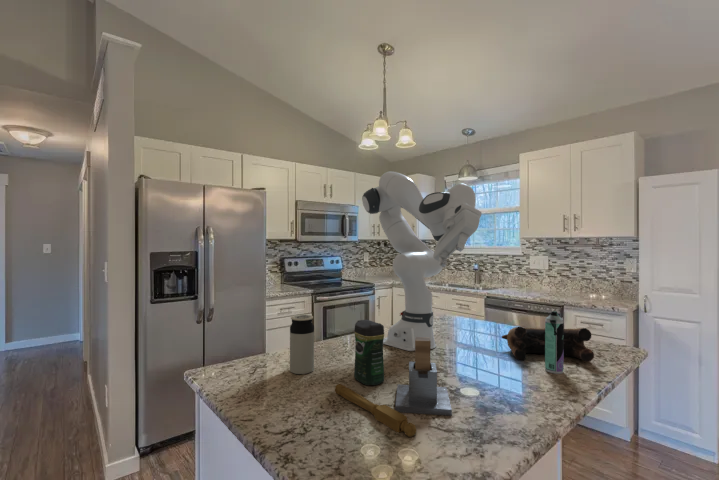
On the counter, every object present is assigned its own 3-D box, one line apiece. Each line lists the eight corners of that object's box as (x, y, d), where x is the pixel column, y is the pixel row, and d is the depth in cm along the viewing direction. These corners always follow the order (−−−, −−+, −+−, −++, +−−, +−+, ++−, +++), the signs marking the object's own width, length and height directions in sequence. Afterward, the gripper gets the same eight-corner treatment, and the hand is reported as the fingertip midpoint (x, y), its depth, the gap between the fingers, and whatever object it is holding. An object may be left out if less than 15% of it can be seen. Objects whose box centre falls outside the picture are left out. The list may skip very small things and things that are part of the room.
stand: (397, 389, 107) (397, 357, 107) (446, 392, 105) (446, 359, 105) (395, 411, 93) (395, 374, 93) (451, 415, 91) (451, 377, 91)
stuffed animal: (599, 323, 129) (571, 317, 153) (507, 327, 134) (494, 321, 158) (605, 361, 127) (576, 349, 152) (511, 363, 132) (498, 351, 157)
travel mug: (318, 368, 124) (318, 315, 124) (305, 376, 117) (305, 320, 117) (298, 365, 127) (298, 313, 127) (284, 372, 120) (285, 317, 120)
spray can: (565, 374, 119) (566, 313, 119) (547, 373, 120) (548, 312, 120) (560, 368, 124) (560, 310, 124) (542, 367, 126) (543, 309, 126)
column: (414, 391, 101) (414, 336, 101) (429, 392, 101) (429, 337, 101) (414, 397, 97) (415, 340, 97) (430, 398, 97) (430, 341, 96)
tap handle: (342, 381, 106) (419, 423, 82) (342, 392, 106) (419, 436, 82) (334, 384, 104) (409, 427, 80) (334, 395, 104) (409, 441, 80)
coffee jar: (388, 383, 112) (388, 322, 112) (366, 388, 107) (367, 325, 107) (371, 373, 120) (371, 316, 120) (350, 377, 116) (350, 319, 116)
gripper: (432, 237, 122) (424, 269, 113) (466, 199, 105) (460, 234, 97) (449, 245, 122) (442, 278, 114) (485, 209, 106) (480, 244, 98)
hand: (451, 257), depth 105 cm, fingers open, 8 cm apart
